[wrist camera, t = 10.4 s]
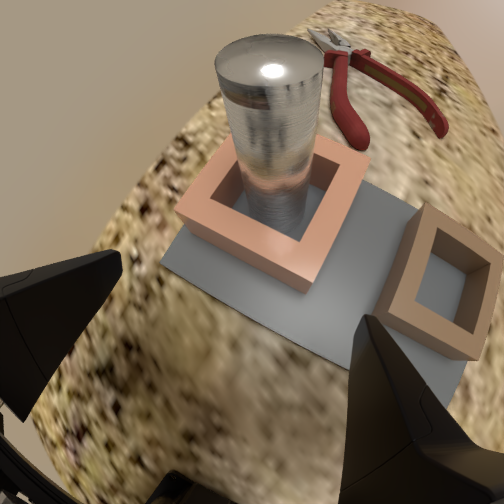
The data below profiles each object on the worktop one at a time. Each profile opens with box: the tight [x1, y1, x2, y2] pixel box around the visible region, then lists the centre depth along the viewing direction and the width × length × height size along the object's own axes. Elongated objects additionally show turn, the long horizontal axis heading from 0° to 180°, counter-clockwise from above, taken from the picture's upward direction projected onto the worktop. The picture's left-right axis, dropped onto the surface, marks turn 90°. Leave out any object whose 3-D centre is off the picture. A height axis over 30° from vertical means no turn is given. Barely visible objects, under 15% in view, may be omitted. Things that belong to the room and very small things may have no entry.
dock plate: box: [159, 180, 504, 409], centre depth 16 cm, size 12×22×4 cm, turn 60°
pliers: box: [307, 29, 449, 150], centre depth 23 cm, size 12×20×3 cm, turn 15°
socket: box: [173, 133, 371, 294], centre depth 17 cm, size 8×8×4 cm
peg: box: [215, 34, 324, 234], centre depth 13 cm, size 4×4×12 cm
